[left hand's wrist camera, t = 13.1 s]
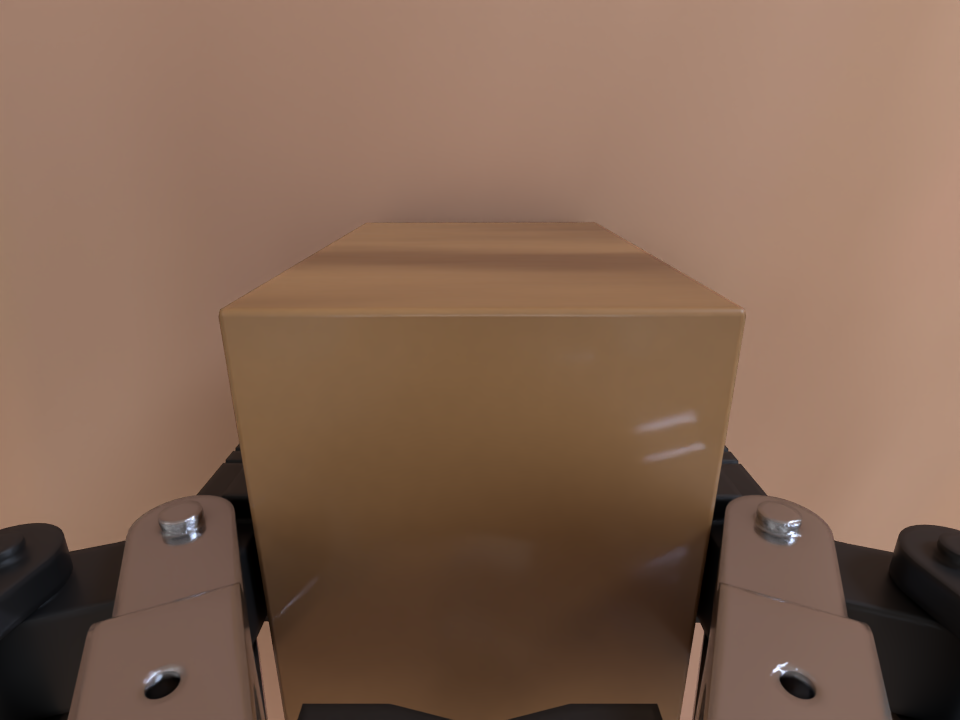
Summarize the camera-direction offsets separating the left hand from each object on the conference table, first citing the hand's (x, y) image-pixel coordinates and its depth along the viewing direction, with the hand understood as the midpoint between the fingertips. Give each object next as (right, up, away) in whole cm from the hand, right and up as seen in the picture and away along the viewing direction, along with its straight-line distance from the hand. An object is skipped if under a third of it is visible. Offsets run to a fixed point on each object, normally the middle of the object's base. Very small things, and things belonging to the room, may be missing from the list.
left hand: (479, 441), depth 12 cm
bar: (0, -6, +7) cm, 9 cm away
